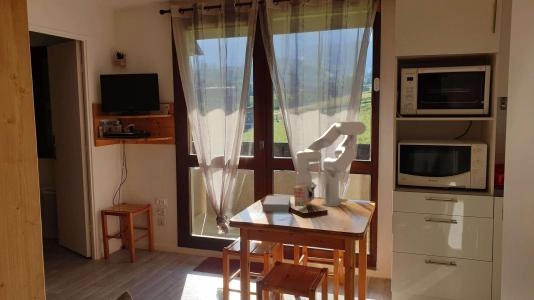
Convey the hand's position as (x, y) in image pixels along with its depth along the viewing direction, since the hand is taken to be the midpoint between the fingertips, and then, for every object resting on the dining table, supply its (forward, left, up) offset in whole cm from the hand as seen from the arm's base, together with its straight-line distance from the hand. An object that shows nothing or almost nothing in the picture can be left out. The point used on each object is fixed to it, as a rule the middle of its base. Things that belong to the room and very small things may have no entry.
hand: (304, 197), depth 277 cm
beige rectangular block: (0, -1, -4) cm, 4 cm away
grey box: (+18, +1, -7) cm, 19 cm away
